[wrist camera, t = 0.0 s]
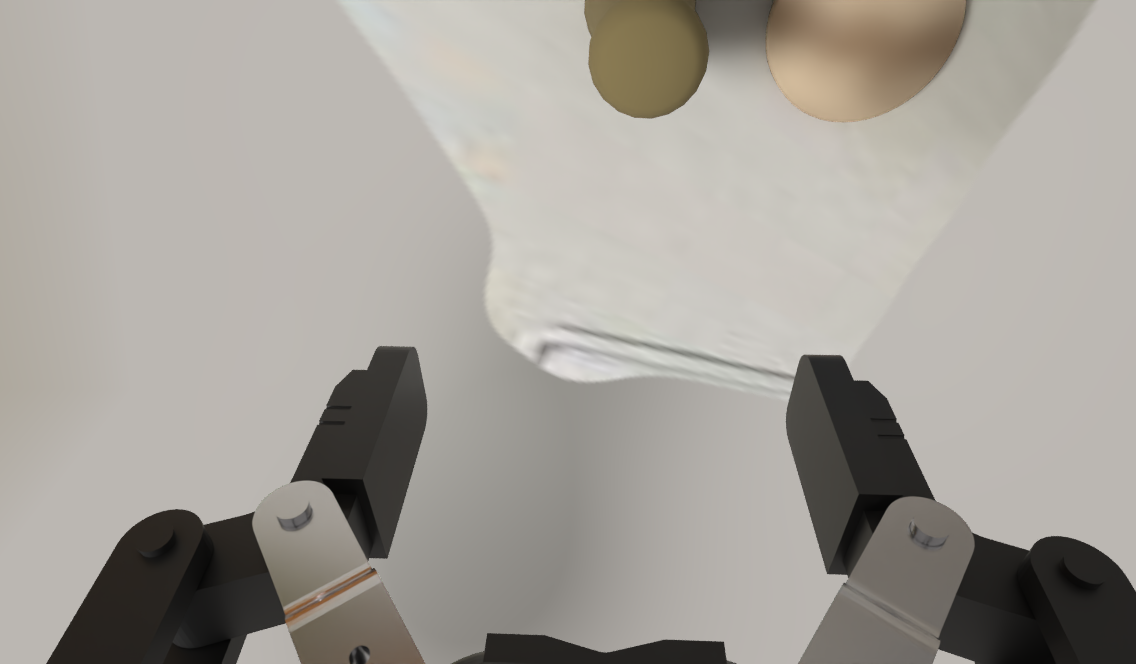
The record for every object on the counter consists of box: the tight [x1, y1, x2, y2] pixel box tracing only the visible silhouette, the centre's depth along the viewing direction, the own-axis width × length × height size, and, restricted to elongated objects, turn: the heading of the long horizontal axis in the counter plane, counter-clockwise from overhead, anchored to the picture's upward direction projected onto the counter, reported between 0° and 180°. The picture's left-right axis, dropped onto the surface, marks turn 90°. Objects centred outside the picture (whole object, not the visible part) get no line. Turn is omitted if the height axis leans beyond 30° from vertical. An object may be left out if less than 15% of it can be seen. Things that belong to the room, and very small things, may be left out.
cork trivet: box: [765, 0, 966, 122], centre depth 36 cm, size 10×10×1 cm
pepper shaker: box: [584, 0, 709, 118], centre depth 32 cm, size 6×6×11 cm
